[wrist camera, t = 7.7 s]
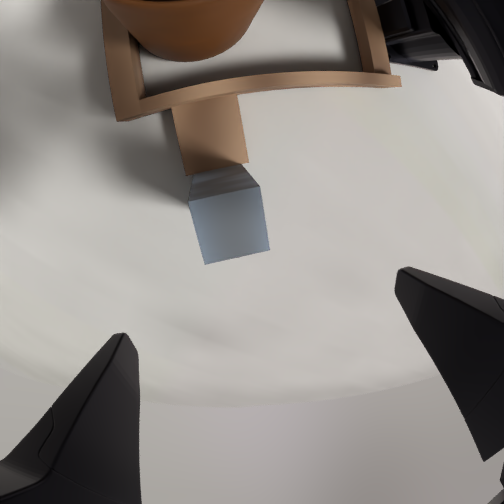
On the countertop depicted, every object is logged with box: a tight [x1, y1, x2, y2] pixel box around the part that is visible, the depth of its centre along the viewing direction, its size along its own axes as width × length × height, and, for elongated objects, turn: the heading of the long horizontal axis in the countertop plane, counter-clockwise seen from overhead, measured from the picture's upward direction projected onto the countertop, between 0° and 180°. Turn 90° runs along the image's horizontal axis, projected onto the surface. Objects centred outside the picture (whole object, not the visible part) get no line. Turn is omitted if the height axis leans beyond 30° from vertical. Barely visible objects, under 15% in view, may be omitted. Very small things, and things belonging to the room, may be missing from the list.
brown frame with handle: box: [101, 0, 402, 265], centre depth 10 cm, size 18×24×7 cm
